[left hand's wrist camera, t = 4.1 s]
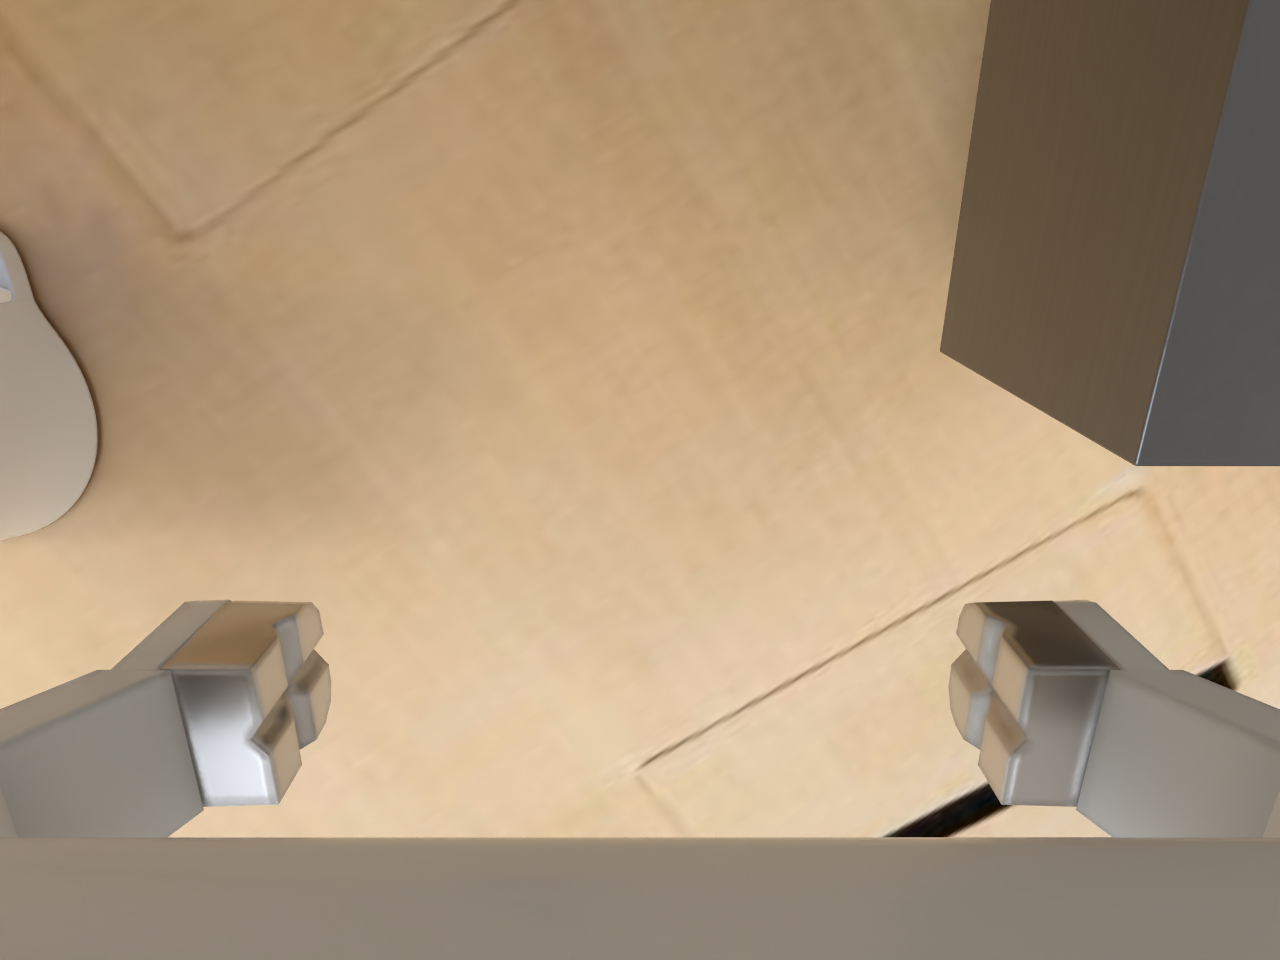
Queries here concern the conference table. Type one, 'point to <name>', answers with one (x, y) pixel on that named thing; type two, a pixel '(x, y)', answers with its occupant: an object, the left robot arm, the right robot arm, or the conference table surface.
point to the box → (1128, 224)
